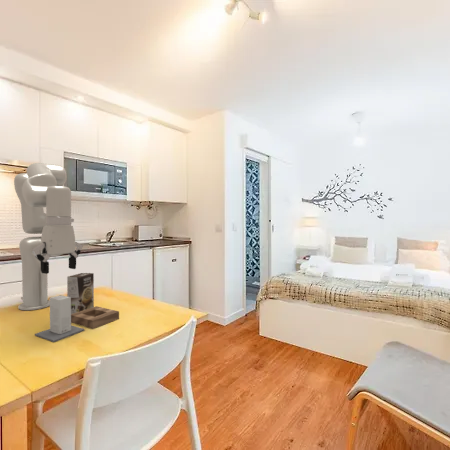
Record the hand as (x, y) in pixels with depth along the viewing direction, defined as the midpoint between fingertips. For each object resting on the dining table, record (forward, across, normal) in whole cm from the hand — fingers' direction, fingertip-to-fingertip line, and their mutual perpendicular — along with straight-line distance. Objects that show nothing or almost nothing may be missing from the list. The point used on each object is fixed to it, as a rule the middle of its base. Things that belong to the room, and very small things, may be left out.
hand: (59, 270), depth 101 cm
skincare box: (+22, 0, 0) cm, 22 cm away
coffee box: (+22, -18, -13) cm, 32 cm away
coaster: (+22, 0, +1) cm, 22 cm away
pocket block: (+22, -14, +1) cm, 26 cm away
